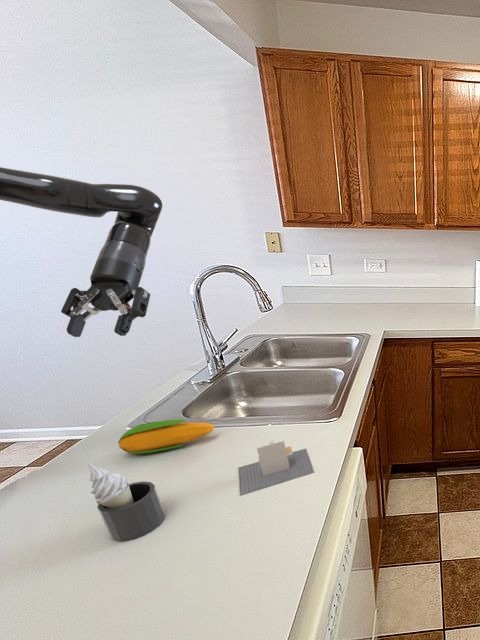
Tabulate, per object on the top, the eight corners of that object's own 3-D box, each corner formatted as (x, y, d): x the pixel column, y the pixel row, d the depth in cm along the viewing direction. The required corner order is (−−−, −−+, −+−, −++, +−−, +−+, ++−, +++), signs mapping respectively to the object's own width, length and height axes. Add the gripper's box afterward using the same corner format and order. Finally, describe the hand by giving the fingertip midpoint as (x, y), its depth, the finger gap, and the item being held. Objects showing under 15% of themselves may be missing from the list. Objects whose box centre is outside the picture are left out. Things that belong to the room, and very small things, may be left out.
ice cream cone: (158, 515, 77) (109, 457, 70) (129, 537, 73) (74, 477, 67) (148, 509, 80) (100, 452, 73) (119, 529, 76) (66, 471, 69)
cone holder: (100, 545, 72) (86, 515, 69) (126, 513, 79) (114, 485, 77) (152, 536, 74) (140, 507, 71) (172, 506, 81) (162, 478, 79)
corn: (119, 421, 98) (213, 405, 105) (130, 446, 101) (220, 429, 108) (107, 438, 92) (208, 420, 99) (119, 464, 95) (216, 445, 102)
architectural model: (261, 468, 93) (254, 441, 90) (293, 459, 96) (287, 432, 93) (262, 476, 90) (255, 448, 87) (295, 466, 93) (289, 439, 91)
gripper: (68, 257, 81) (39, 327, 75) (143, 256, 82) (120, 324, 76) (98, 278, 88) (74, 344, 82) (166, 277, 89) (148, 341, 83)
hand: (96, 334), depth 79 cm, fingers open, 8 cm apart
